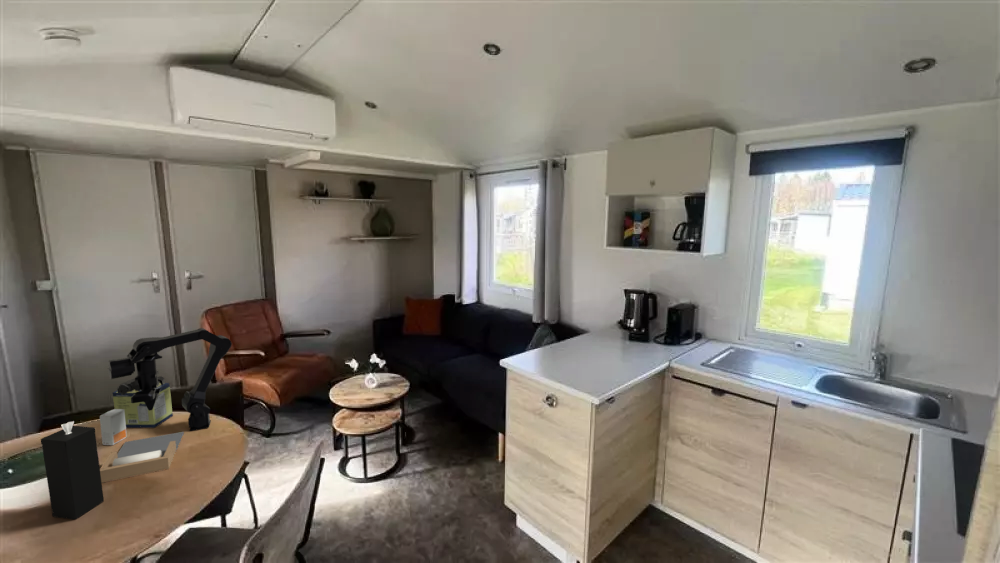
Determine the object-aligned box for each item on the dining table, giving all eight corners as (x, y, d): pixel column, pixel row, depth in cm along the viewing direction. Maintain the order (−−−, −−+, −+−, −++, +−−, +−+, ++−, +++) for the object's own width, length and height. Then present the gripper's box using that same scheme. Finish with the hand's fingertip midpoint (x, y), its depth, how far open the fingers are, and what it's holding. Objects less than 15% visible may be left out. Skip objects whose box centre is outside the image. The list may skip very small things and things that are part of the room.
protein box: (136, 415, 177) (132, 382, 175) (173, 416, 178) (170, 382, 176) (115, 428, 167) (111, 392, 164) (155, 428, 168) (151, 392, 165)
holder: (183, 433, 164) (182, 423, 164) (168, 468, 142) (167, 457, 141) (125, 443, 156) (124, 433, 155) (99, 483, 133) (98, 471, 133)
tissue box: (104, 501, 125) (93, 417, 121) (75, 520, 117) (63, 430, 113) (81, 499, 126) (70, 415, 122) (51, 517, 118) (38, 428, 114)
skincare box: (113, 445, 154) (109, 416, 153) (102, 445, 155) (98, 415, 153) (128, 437, 160) (124, 408, 159) (117, 436, 161) (114, 408, 159)
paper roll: (162, 457, 146) (160, 446, 145) (160, 468, 143) (157, 457, 141) (118, 465, 141) (115, 455, 139) (113, 477, 137) (110, 466, 135)
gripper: (127, 366, 158) (131, 403, 161) (109, 384, 142) (114, 425, 145) (163, 362, 164) (166, 398, 166) (150, 379, 147) (154, 419, 150)
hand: (150, 409), depth 156 cm, fingers closed
